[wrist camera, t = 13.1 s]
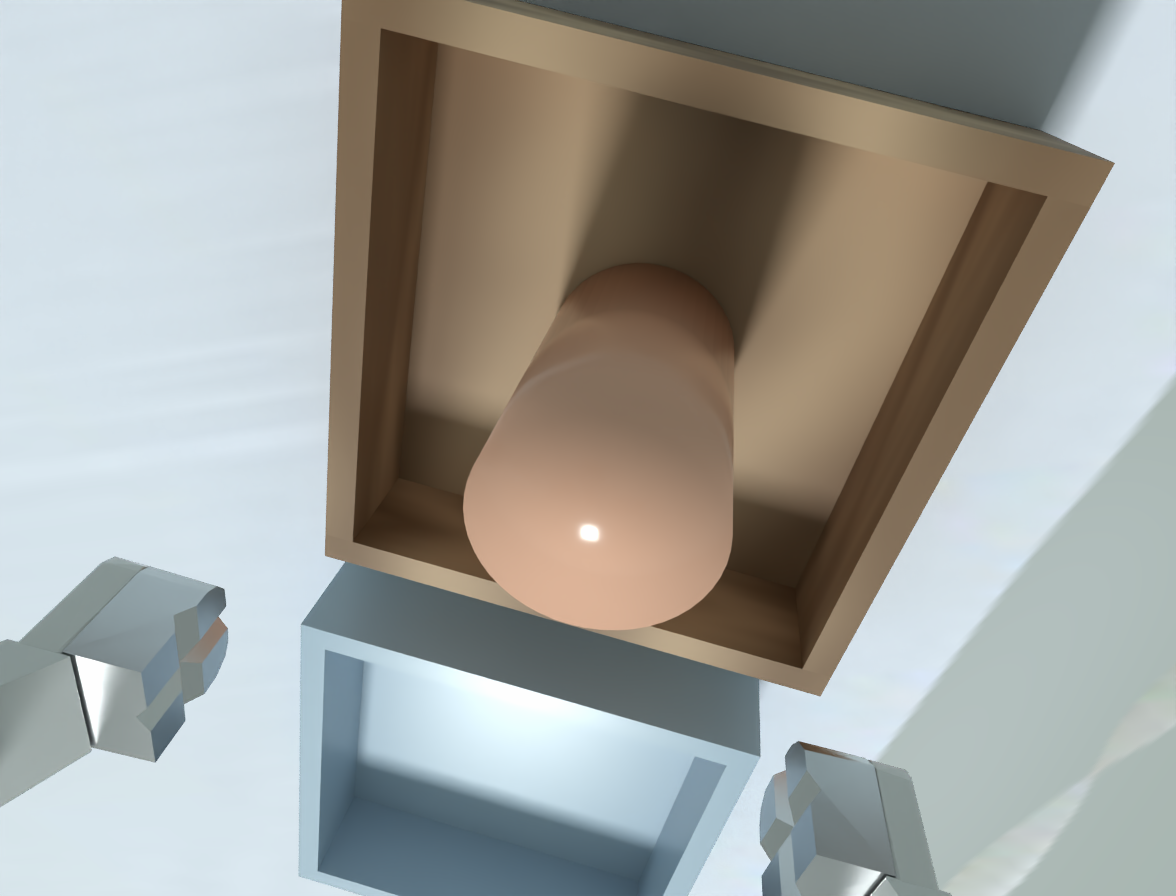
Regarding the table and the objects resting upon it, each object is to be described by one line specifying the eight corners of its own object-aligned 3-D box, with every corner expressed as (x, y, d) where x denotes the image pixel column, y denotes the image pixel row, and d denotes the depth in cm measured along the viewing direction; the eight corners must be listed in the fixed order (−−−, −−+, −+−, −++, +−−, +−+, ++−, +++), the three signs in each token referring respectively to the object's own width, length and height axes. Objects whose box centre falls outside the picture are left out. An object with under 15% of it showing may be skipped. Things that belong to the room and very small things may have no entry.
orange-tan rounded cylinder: (516, 320, 21) (410, 479, 14) (674, 226, 19) (638, 359, 12) (613, 459, 23) (560, 658, 16) (768, 385, 21) (781, 579, 14)
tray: (380, 481, 25) (325, 555, 22) (419, -25, 18) (342, -30, 14) (809, 601, 25) (820, 696, 21) (1041, 130, 17) (1114, 163, 14)
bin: (342, 790, 35) (298, 876, 31) (356, 546, 27) (300, 624, 24) (653, 882, 34) (643, 980, 31) (758, 659, 26) (760, 756, 23)
